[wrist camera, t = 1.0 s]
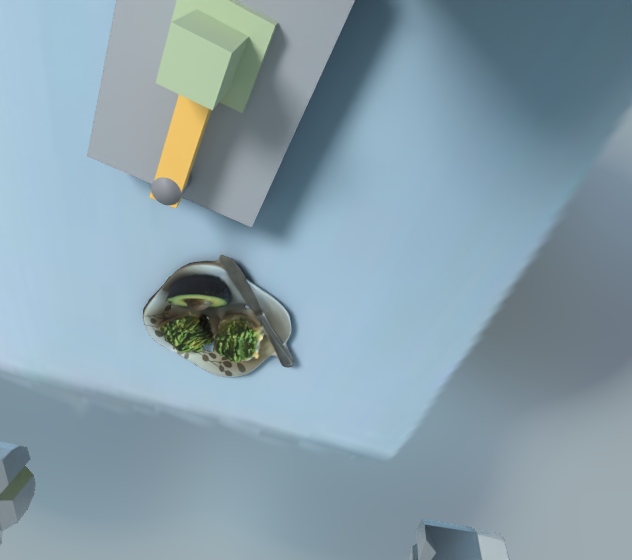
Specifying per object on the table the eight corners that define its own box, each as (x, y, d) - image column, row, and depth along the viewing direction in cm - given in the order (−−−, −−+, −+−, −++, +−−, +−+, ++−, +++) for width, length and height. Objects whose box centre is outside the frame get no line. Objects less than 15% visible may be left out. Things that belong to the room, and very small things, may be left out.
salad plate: (335, 324, 60) (333, 350, 56) (249, 389, 69) (243, 416, 65) (209, 231, 53) (198, 253, 50) (131, 316, 62) (117, 341, 58)
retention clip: (194, 67, 38) (182, 77, 35) (225, 82, 38) (215, 93, 36) (160, 181, 44) (147, 197, 41) (187, 193, 44) (176, 209, 42)
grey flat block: (173, -161, 34) (148, -174, 30) (371, -44, 37) (373, -41, 33) (109, 136, 47) (87, 156, 43) (259, 203, 50) (251, 227, 46)
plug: (200, -29, 37) (153, -17, 28) (283, 16, 38) (262, 40, 30) (176, 59, 41) (128, 93, 32) (252, 97, 42) (226, 139, 34)
